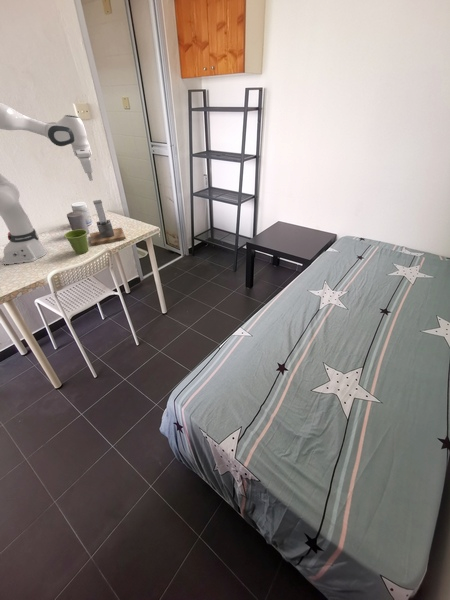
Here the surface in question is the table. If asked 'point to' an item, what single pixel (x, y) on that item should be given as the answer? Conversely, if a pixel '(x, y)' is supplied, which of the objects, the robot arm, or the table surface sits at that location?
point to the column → (100, 211)
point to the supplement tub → (83, 208)
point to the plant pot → (78, 240)
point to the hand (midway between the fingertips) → (90, 178)
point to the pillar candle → (77, 221)
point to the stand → (106, 234)
